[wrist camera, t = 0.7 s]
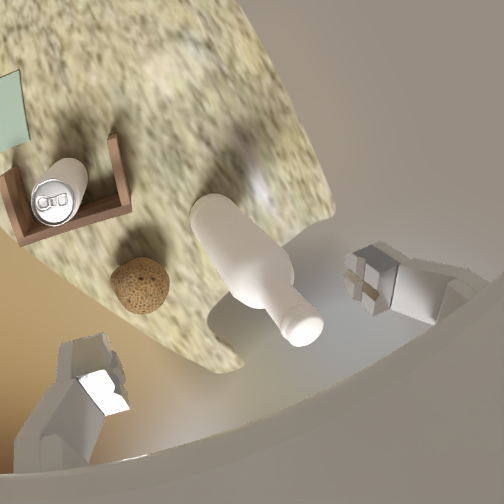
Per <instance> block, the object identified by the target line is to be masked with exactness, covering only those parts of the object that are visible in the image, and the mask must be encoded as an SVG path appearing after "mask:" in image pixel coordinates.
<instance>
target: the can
mask: <svg viewBox="0 0 504 504" xmlns="http://www.w3.org/2000/svg"><path fill="white" fill-rule="evenodd" d="M87 183H88V173H87V170H86V168H85V166H84V165H83V164H82V163H81V162H80V161H78V160H77V159H74V158H63V159H61V160H59V161H57V162H56V163H55V164H54V165H52V166H51V167H50V168H49V169H48V170H47V171H46V172H45V173H44V174H43V175H42V176H41V177H40V178H39V179H38V181H37V182H36V184H35V185H34V187H33V190H32V195H31V207H32V211H33V213H34V215H35V216H36V218H37V219H38V220H39V221H40V222H42V223H43V224H45V225H49V226H58V225H61V224H63V223H65V222H67V221H69V220H70V219H71V218H72V217H73V216H74V215H75V214H76V212H77V210H78V208H79V206H80V203H81V200H82V198H83V195H84V192H85V190H86V187H87Z"/></svg>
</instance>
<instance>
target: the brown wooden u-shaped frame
mask: <svg viewBox="0 0 504 504" xmlns="http://www.w3.org/2000/svg"><path fill="white" fill-rule="evenodd" d="M107 143H108V148H109V153H110V158H111V163H112V167H113V172H114V176H115V181H116V185H117V189H118V193H119V194H116V195H112V196H109V197H106V198H102V199H99V200H95V201H92V202H89V203H85V204H82V205H80V206H79V208H78V210H77V212H76V214H75V215H74V216H73V217H72V218H71V219H70V220H69V221H67V222H65V223H63V224H61V225H58V226H49V225H45V224H43V223H42V222H40V221H39V220H38V219H37V220H34V219H33V216H32V213H31V210H30V206H29V203H28V200H27V197H26V193H25V190H24V187H23V183H22V179H21V176H20V172H19V168H18V166H16V167H13V168H11V169H10V170H8V171H7V172H5V173H4V174H2V175H1V176H0V191H1V195H2V198H3V201H4V204H5V207H6V210H7V213H8V216H9V219H10V222H11V225H12V228H13V230H14V233H15V236H16V238H17V241H18V243H19V246H20V247H22V246H25V245H28V244H31V243H34V242H37V241H40V240H43V239H46V238H49V237H52V236H55V235H58V234H61V233H64V232H67V231H70V230H74V229H77V228H80V227H83V226H86V225H90V224H93V223H96V222H100V221H103V220H107V219H110V218H113V217H117V216H120V215H124V214H128V213H131V212H132V205H131V198H130V193H129V189H128V185H127V180H126V176H125V171H124V166H123V162H122V157H121V152H120V147H119V141H118V136H117V133H116V134H113V135H109V137H108V139H107Z"/></svg>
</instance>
